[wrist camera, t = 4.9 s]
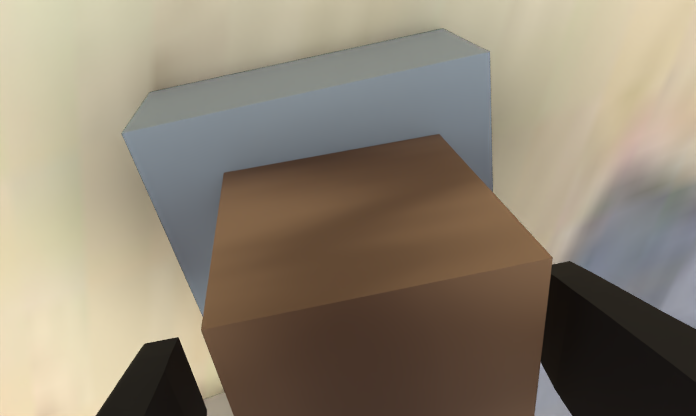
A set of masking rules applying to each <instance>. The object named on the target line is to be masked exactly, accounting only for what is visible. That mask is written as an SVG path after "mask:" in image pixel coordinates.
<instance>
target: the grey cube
mask: <svg viewBox="0 0 696 416" xmlns="http://www.w3.org/2000/svg"><path fill="white" fill-rule="evenodd" d="M203 401H204V403H205V406H206V408H207V416H234V415H233V413H232V410H231V407H230V405H229V402H228V399H227V397H226V394H225V392H223V393H220V394H217V395H215V396H212V397H209V398H206V399H203Z"/></svg>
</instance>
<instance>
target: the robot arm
mask: <svg viewBox="0 0 696 416" xmlns="http://www.w3.org/2000/svg"><path fill="white" fill-rule="evenodd" d="M541 363H542V365H543V367H544V369H545V371H546V373H547V375H548V377H549V379H550V381H551V383H552V384H553V386H554V388H555V390H556V392H557V393H558V395H559V396H560V398H561V399H562V401H563V402H564V404H565V405H566V407H567V408H568V410H569V411H570V413H571V414H572V416H696V329H694V328H692V327H690V326H689V325H687V324H685V323H683V322H681V321H679V320H677V319H675V318H674V317H672V316H670V315H668V314H666V313H664V312H662V311H661V310H659V309H657V308H655V307H653V306H651V305H650V304H648V303H646V302H644V301H642V300H641V299H639V298H637V297H635V296H633V295H632V294H630V293H628V292H626V291H624V290H623V289H621V288H619V287H617V286H615V285H614V284H612V283H610V282H608V281H606V280H605V279H603V278H601V277H599V276H597V275H595V274H594V273H592V272H590V271H588V270H586V269H584V268H582V267H580V266H578V265H576V264H574V263H572V262H570V261H569V262H563V263H558V264H553V265H552V268H551V277H550V285H549V294H548V302H547V311H546V319H545V328H544V336H543V345H542V353H541ZM96 416H207V408H206V406H205V403H204V401H203V398H202V396H201V393H200V391H199V388H198V386H197V383H196V381H195V378H194V376H193V373H192V370H191V368H190V365H189V363H188V360H187V358H186V355H185V353H184V350H183V348H182V345H181V343H180V340H179V338H178V337H177V338H172V339H167V340H162V341H156V342H151V343H146V344H144V345H143V347H142V348H141V349H140V351H139V352H138V354H137V355H136V357H135V358H134V359H133V361H132V362H131V364H130V365H129V367H128V368H127V370H126V371H125V373H124V374H123V376H122V377H121V379H120V380H119V382H118V383H117V385H116V386H115V388H114V389H113V391H112V392H111V394H110V395H109V397H108V398H107V400H106V401H105V403H104V404H103V406H102V407H101V409H100V410H99V412H98V413H97V415H96Z"/></svg>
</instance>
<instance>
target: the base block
mask: <svg viewBox="0 0 696 416" xmlns="http://www.w3.org/2000/svg"><path fill="white" fill-rule="evenodd" d="M436 134H440V135H441V136H442V138H443V139H444V140H445V141H446V142H447V143H448V144H449V145H450V146H451V147H452V148H453V150H454V151H455V152H456V153H457V154H458V155H459V156H460V157H461V158H462V159H463V160H464V162H465V163H466V164H467V165H468V166H469V167H470V168H471V169H472V170H473V171H474V172H475V174H476V175H477V176H478V177H479V178H480V179H481V180H482V181H483V182H484V183H485V184H486V186H487V187H488V188H489V189H490V190H491V191H492V192H493V178H492V129H491V81H490V51H488V50H486V49H484V48H481V47H479V46H477V45H475V44H473V43H471V42H469V41H467V40H465V39H463V38H461V37H459V36H457V35H455V34H453V33H451V32H449V31H447V30H445V29H438V30H433V31H429V32H424V33H420V34H415V35H410V36H406V37H401V38H397V39H392V40H387V41H383V42H378V43H374V44H369V45H364V46H360V47H355V48H350V49H346V50H341V51H337V52H332V53H327V54H323V55H318V56H314V57H309V58H304V59H300V60H295V61H291V62H286V63H281V64H277V65H272V66H268V67H263V68H258V69H254V70H249V71H244V72H240V73H235V74H231V75H226V76H221V77H217V78H212V79H208V80H203V81H198V82H194V83H189V84H185V85H180V86H175V87H171V88H166V89H162V90H157V91H152V92H150V93H149V94H148V95H147V97H146V98H145V100H144V101H143V103H142V104H141V106H140V107H139V109H138V110H137V111H136V113H135V114H134V116H133V117H132V119H131V120H130V122H129V123H128V124H127V126H126V127H125V129H124V130H123V132H122V136H123V138H124V140H125V142H126V145H127V147H128V149H129V151H130V154H131V156H132V158H133V160H134V163H135V165H136V167H137V169H138V172H139V174H140V176H141V178H142V181H143V183H144V185H145V187H146V190H147V192H148V194H149V196H150V199H151V201H152V203H153V205H154V208H155V210H156V212H157V214H158V217H159V219H160V221H161V223H162V226H163V228H164V230H165V232H166V235H167V237H168V239H169V241H170V244H171V246H172V248H173V250H174V253H175V255H176V257H177V260H178V262H179V264H180V266H181V269H182V271H183V273H184V275H185V278H186V280H187V282H188V284H189V287H190V289H191V291H192V293H193V296H194V298H195V300H196V302H197V305H198V307H199V309H200V311H201V314H202V316H203V313H204V306H205V299H206V292H207V285H208V278H209V271H210V264H211V258H212V251H213V244H214V237H215V230H216V223H217V216H218V209H219V202H220V195H221V188H222V181H223V174H224V173H225V172H230V171H236V170H242V169H247V168H253V167H258V166H264V165H269V164H275V163H280V162H286V161H292V160H297V159H303V158H308V157H314V156H319V155H325V154H330V153H336V152H342V151H347V150H353V149H358V148H364V147H369V146H375V145H380V144H386V143H392V142H397V141H403V140H408V139H414V138H419V137H425V136H430V135H436Z"/></svg>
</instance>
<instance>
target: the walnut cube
mask: <svg viewBox="0 0 696 416" xmlns="http://www.w3.org/2000/svg"><path fill="white" fill-rule="evenodd" d="M552 259H553V258H552V257H551V255H550V254H549V253H548V252H547V251H546V250H545V249H544V248H543V247H542V246H541V245H540V243H539V242H538V241H537V240H536V239H535V238H534V237H533V236H532V235H531V234H530V233H529V231H528V230H527V229H526V228H525V227H524V226H523V225H522V224H521V223H520V222H519V221H518V219H517V218H516V217H515V216H514V215H513V214H512V213H511V212H510V211H509V210H508V209H507V207H506V206H505V205H504V204H503V203H502V202H501V201H500V200H499V199H498V198H497V197H496V195H495V194H494V193H493V192H492V191H491V190H490V189H489V188H488V187H487V186H486V184H485V183H484V182H483V181H482V180H481V179H480V178H479V177H478V176H477V175H476V174H475V172H474V171H473V170H472V169H471V168H470V167H469V166H468V165H467V164H466V163H465V162H464V160H463V159H462V158H461V157H460V156H459V155H458V154H457V153H456V152H455V151H454V150H453V148H452V147H451V146H450V145H449V144H448V143H447V142H446V141H445V140H444V139H443V138H442V136H441V135H440V134H436V135H430V136H425V137H419V138H414V139H408V140H403V141H397V142H392V143H386V144H380V145H375V146H369V147H364V148H358V149H353V150H347V151H342V152H336V153H330V154H325V155H319V156H314V157H308V158H303V159H297V160H292V161H286V162H280V163H275V164H269V165H264V166H258V167H253V168H247V169H242V170H236V171H230V172H225V173H224V174H223V181H222V188H221V195H220V202H219V209H218V216H217V223H216V230H215V237H214V244H213V251H212V258H211V264H210V271H209V278H208V285H207V292H206V299H205V306H204V313H203V320H202V327H201V331H202V334H203V336H204V339H205V342H206V344H207V347H208V349H209V352H210V355H211V357H212V360H213V363H214V365H215V368H216V370H217V373H218V376H219V378H220V381H221V384H222V386H223V389H224V392H225V394H226V397H227V399H228V402H229V405H230V407H231V410H232V413H233V415H234V416H534V413H535V404H536V396H537V387H538V379H539V370H540V362H541V353H542V345H543V336H544V328H545V319H546V311H547V302H548V294H549V285H550V277H551V268H552Z"/></svg>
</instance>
